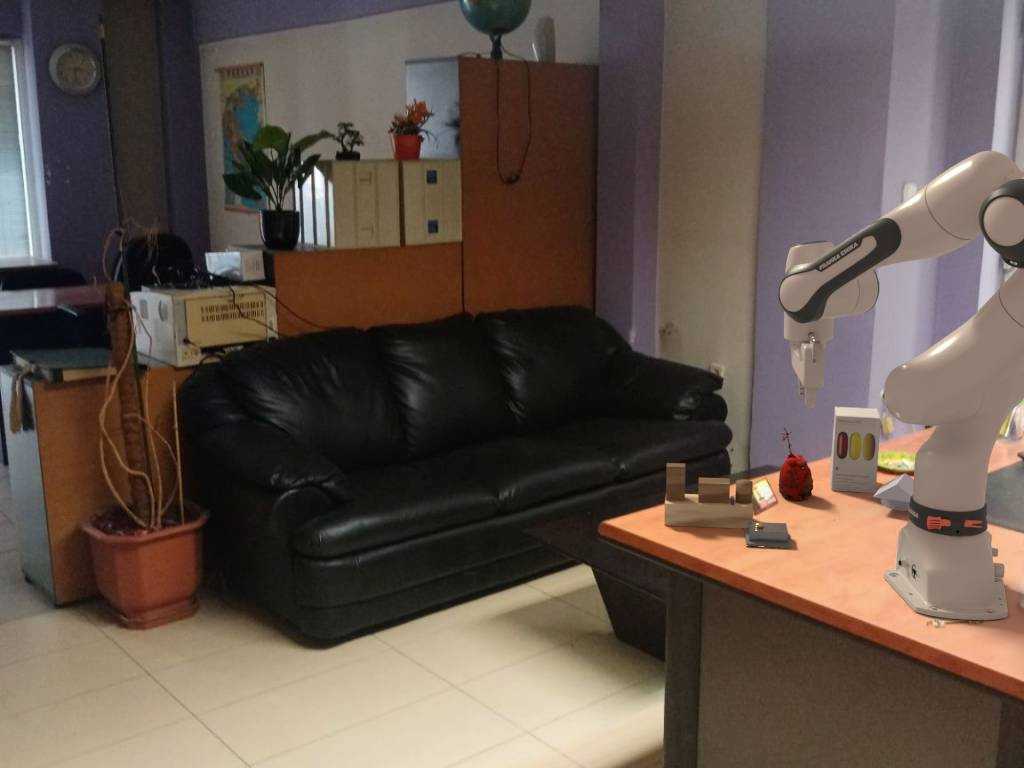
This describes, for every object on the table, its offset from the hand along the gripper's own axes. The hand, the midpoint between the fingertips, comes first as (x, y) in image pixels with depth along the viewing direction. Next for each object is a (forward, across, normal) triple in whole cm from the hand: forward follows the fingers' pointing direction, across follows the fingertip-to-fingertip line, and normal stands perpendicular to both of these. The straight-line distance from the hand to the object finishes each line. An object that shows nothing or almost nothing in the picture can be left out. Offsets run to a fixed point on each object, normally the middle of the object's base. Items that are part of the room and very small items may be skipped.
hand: (806, 402), depth 191 cm
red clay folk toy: (+26, +22, 0) cm, 34 cm away
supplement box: (+26, +31, -14) cm, 43 cm away
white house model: (+26, +18, -21) cm, 38 cm away
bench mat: (+26, -4, +7) cm, 27 cm away
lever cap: (+25, -4, +7) cm, 26 cm away
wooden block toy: (+25, +5, +18) cm, 31 cm away
